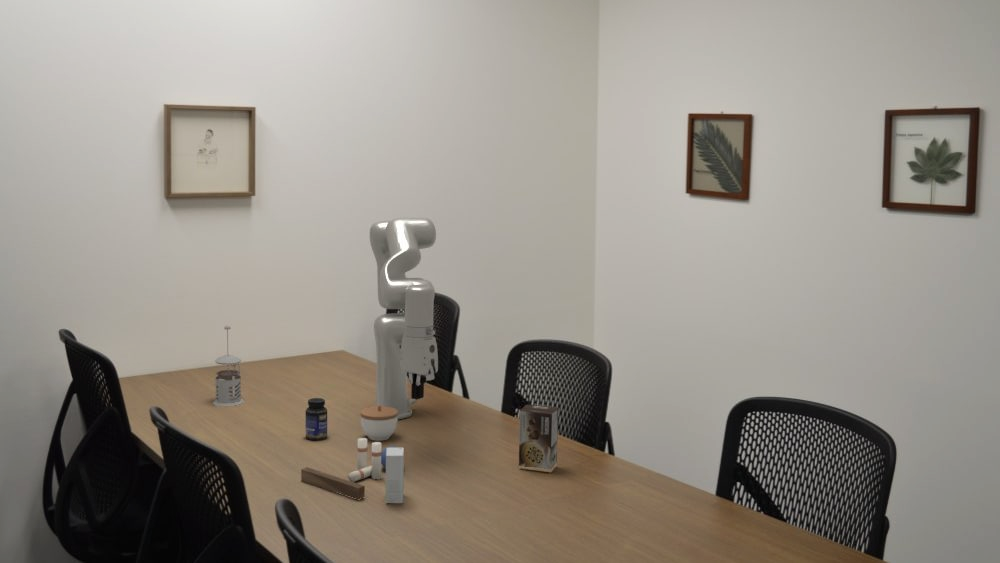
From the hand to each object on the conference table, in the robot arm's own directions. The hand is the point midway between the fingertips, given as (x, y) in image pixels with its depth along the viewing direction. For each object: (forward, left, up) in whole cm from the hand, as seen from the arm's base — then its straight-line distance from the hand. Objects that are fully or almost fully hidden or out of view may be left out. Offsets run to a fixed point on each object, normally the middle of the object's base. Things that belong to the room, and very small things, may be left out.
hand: (417, 397), depth 259 cm
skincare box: (+27, +17, -16) cm, 36 cm away
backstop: (+32, +1, -16) cm, 36 cm away
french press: (0, -80, -16) cm, 81 cm away
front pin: (+17, +1, -15) cm, 22 cm away
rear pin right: (+19, -1, -16) cm, 25 cm away
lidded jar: (-5, -19, -16) cm, 25 cm away
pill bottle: (+7, -32, -16) cm, 36 cm away
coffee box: (-14, +30, -16) cm, 37 cm away
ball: (+12, +2, -13) cm, 18 cm away
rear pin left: (+19, +4, -16) cm, 25 cm away
